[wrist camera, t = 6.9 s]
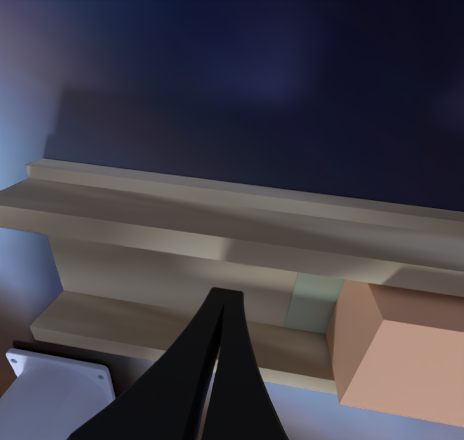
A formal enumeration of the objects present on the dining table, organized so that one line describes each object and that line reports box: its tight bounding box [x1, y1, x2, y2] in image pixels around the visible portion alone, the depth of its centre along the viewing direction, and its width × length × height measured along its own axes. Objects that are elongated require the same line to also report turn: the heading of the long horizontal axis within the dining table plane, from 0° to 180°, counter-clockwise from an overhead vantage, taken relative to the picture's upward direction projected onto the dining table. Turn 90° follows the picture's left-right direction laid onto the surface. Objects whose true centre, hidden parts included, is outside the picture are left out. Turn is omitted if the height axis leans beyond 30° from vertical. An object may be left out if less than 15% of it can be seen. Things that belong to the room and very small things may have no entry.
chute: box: [0, 158, 464, 395], centre depth 13 cm, size 9×22×4 cm, turn 86°
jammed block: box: [325, 279, 464, 427], centre depth 11 cm, size 5×5×4 cm
